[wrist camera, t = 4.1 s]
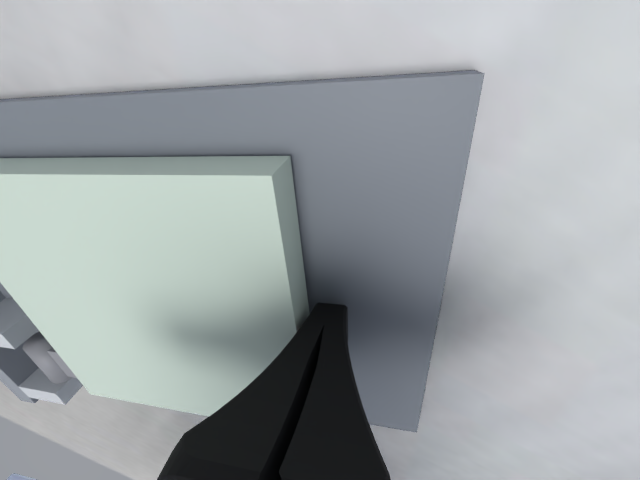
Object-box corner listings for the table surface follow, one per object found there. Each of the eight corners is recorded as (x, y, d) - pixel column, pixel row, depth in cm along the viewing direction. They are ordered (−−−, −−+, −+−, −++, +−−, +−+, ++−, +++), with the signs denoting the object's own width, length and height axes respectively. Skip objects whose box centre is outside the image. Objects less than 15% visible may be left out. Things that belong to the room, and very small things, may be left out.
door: (320, 402, 17) (313, 436, 16) (72, 361, 21) (47, 386, 19) (290, 155, 10) (271, 175, 8) (-87, 159, 13) (-146, 173, 12)
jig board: (415, 411, 18) (419, 482, 15) (67, 355, 24) (21, 400, 21) (474, 70, 9) (514, 83, 6) (-127, 107, 14) (-264, 124, 11)
